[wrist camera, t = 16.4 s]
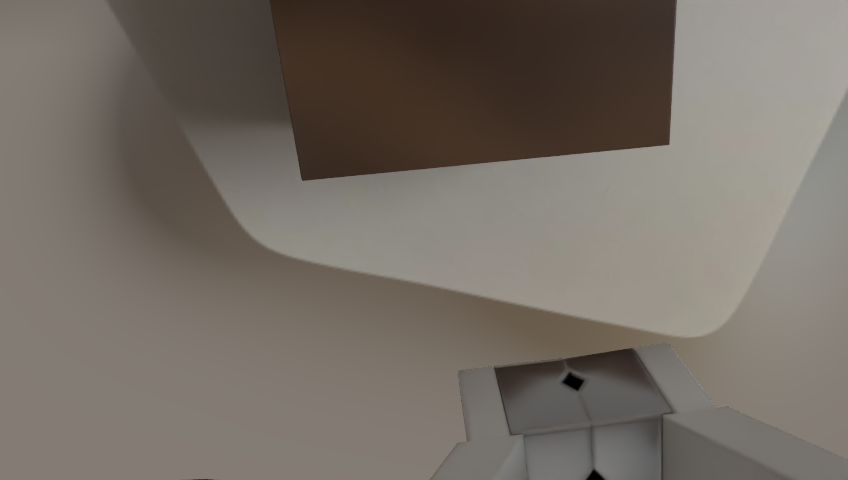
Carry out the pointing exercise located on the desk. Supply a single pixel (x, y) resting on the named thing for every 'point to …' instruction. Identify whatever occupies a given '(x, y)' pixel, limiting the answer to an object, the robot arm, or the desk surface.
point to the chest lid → (471, 80)
